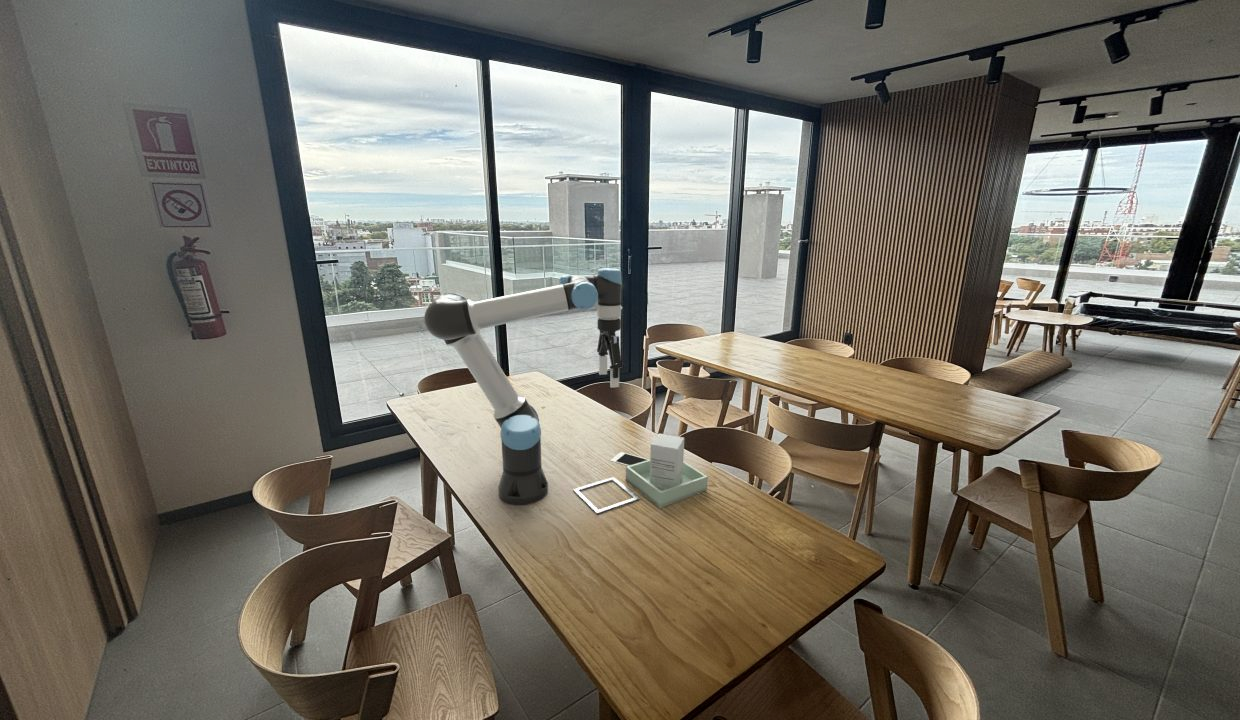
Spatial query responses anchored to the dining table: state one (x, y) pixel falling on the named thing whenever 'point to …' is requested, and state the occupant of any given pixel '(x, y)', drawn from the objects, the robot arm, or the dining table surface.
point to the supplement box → (666, 461)
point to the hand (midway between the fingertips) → (608, 380)
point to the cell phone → (627, 459)
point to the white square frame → (633, 499)
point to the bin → (688, 487)
